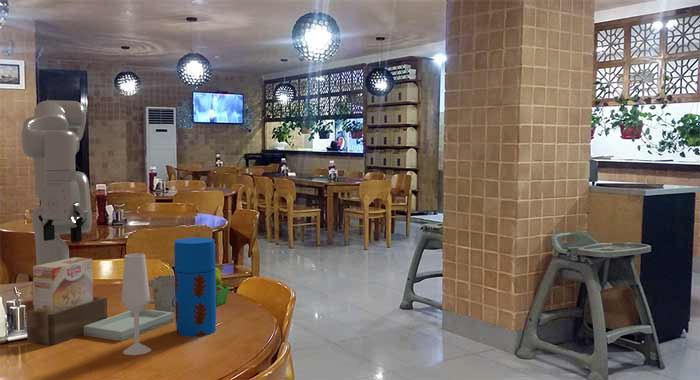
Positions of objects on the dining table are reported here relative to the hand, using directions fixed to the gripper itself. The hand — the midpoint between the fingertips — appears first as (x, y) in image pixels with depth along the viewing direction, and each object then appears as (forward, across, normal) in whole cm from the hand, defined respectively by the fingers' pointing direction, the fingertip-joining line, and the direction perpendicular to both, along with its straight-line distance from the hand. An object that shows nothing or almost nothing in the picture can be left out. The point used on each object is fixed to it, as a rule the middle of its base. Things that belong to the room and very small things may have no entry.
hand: (62, 241), depth 179 cm
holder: (+25, +1, +1) cm, 25 cm away
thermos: (+26, +30, +16) cm, 43 cm away
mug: (+25, +6, +30) cm, 40 cm away
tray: (+25, +12, +12) cm, 30 cm away
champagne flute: (+26, +27, -4) cm, 38 cm away
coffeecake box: (+25, -1, 0) cm, 25 cm away
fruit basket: (+25, +15, +44) cm, 53 cm away
